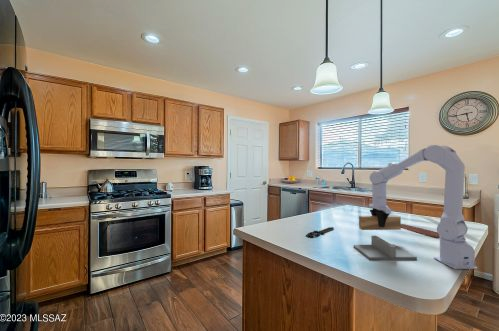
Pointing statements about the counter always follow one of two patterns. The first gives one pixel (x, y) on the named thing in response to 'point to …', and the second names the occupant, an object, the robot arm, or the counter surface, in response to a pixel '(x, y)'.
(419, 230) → the wooden tablet
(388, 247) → the stand
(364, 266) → the counter surface
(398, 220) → the wooden block
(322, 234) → the black spatula
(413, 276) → the counter surface
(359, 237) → the counter surface
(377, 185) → the robot arm
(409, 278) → the counter surface
